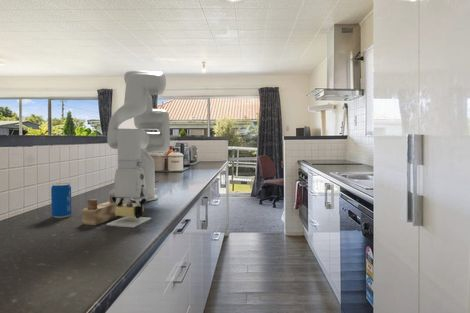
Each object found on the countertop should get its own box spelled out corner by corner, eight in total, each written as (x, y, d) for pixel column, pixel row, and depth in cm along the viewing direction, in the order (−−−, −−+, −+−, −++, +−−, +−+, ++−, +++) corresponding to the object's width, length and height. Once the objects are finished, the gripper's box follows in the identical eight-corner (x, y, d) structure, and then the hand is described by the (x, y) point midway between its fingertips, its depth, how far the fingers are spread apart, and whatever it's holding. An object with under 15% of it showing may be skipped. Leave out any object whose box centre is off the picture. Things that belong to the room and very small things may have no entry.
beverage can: (63, 219, 119) (62, 185, 118) (47, 218, 120) (46, 184, 119) (75, 215, 125) (74, 183, 125) (60, 214, 126) (59, 182, 126)
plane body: (111, 213, 128) (111, 190, 127) (122, 214, 127) (122, 191, 126) (82, 224, 112) (82, 197, 112) (95, 225, 111) (94, 198, 111)
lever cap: (127, 211, 120) (126, 201, 120) (143, 212, 118) (143, 202, 118) (115, 215, 113) (115, 204, 113) (132, 216, 111) (132, 206, 111)
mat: (126, 217, 123) (126, 215, 123) (151, 218, 120) (151, 217, 120) (106, 225, 111) (106, 224, 111) (133, 227, 109) (133, 226, 109)
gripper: (157, 164, 116) (157, 215, 117) (113, 163, 120) (114, 212, 122) (146, 166, 109) (146, 221, 110) (100, 165, 113) (101, 217, 114)
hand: (129, 216), depth 116 cm, fingers closed on lever cap, 6 cm apart
